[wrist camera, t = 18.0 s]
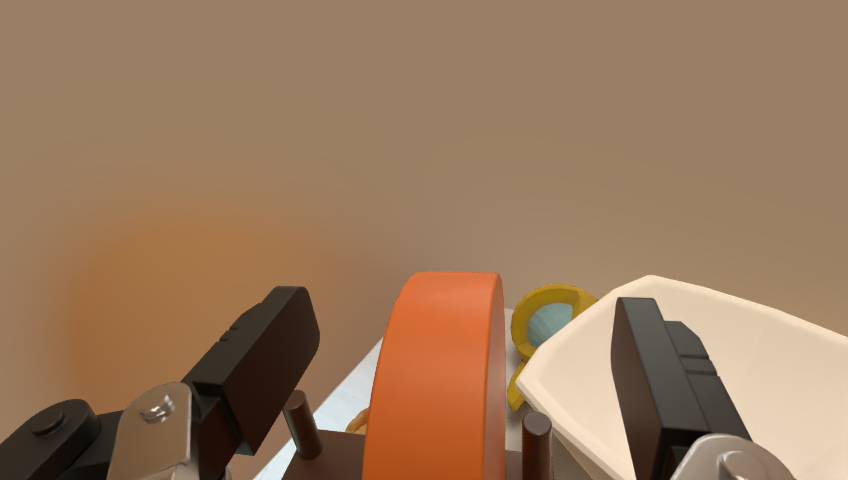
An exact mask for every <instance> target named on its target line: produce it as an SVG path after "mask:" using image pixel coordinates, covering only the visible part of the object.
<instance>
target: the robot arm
mask: <svg viewBox="0 0 848 480" xmlns="http://www.w3.org/2000/svg"><path fill="white" fill-rule="evenodd" d="M319 341H320V332H319V328H318V324H317V320H316V317H315V313H314V310H313V306H312V303H311V300H310V296H309V293H308V291H307V289H306V288H304V287H295V286H277V287H275V288H274V289H273V290H272V291H271V292H270V293H269V294H268V295H267V297H266V298H265V299H264V300H263V301H262V303H258V304H257V305H255V306H254V307H252V308H251V309H249V310H248V311H246V312H245V313H243V314H242V315H241V316H240V317H239V318H238V319H237V320H236V321H235V322H234V323H233V324H232V326H231V327H230V329H229V331H226V332H225V333H224V334H223V335H222V336H221V338H220V340H219V342H216V343H215V344H214V345H213V346H212V347H211V349H210V350H209V351H208V352H207V353H206V354H205V355H204V356H203V357H202V358H201V360H200V361H199V362H198V363H197V364H196V365H195V366H194V367H193V368H192V369H191V371H190V372H189V373H188V374H187V375H186V376H185V377H184V378H183V379H182V380H181V381H180V382H171V383H166V384H163V385H159V386H157V387H154V388H152V389H150V390H148V391H147V392H145V393H143V394H142V395H140V396H139V397H137V398H136V399H135V400H134V401H133V402H132V403H131V404H130V405H129V406H128V407H127V408H126V410H122V411H116V412H111V413H106V414H100V415H95V413H94V412H93V410H92V409H91V407H90V406H89V404H88V403H87V402H86V401H84V400H81V399H72V400H66V401H63V402H60V403H57V404H54V405H52V406H50V407H48V408H46V409H44V410H42V411H40V412H39V413H37V414H36V415H34V416H33V417H31V418H30V419H29V420H27V421H26V422H25V423H24V424H23V425H22V426H20V427H19V428H18V429H17V430H16V431H15V432H14V433H12V434H11V435H10V436H9V437H8V438H7V439H6V440H4V441H3V442H2V443H1V444H0V480H232V472H231V468H230V466H229V464H228V463H229V461H230V460H231V458H232V457H233V455H234V454H243V455H251V456H254V455H255V454H256V452H257V450H258V448H259V447H260V445H261V444H262V442H263V440H264V438H265V437H266V435H267V434H268V432H269V430H270V429H271V427H272V425H273V424H274V422H275V420H276V419H277V417H278V415H279V414H280V412H281V410H282V409H283V407H284V405H285V404H286V402H287V400H288V399H289V397H290V395H291V394H292V392H293V390H294V389H295V387H296V385H297V384H298V382H299V380H300V379H301V377H302V375H303V374H304V372H305V370H306V369H307V367H308V365H309V364H310V362H311V360H312V359H313V357H314V355H315V354H316V352H317V350H318V346H319ZM610 360H611V370H612V376H613V380H614V384H615V389H616V393H617V398H618V402H619V406H620V411H621V415H622V419H623V424H624V428H625V433H626V437H627V441H628V446H629V450H630V454H631V459H632V463H633V467H634V472H635V476H636V480H796V479H795V478H794V476H793V475H792V474H791V472H790V471H789V469H788V468H787V467H786V466H785V465H784V464H783V463H782V462H781V461H780V460H779V459H778V458H777V457H776V456H774V455H773V454H772V453H770V452H769V451H768V450H766V449H765V448H763V447H761V446H759V445H758V444H756V443H754V442H753V440H752V438H751V436H750V435H749V433H748V431H747V429H746V427H745V425H744V423H743V421H742V419H741V417H740V415H739V413H738V411H737V409H736V407H735V405H734V403H733V401H732V400H731V398H730V396H729V394H728V392H727V390H726V388H725V386H724V384H723V382H722V380H721V378H720V376H718V375H717V370H716V368H715V367H714V365H713V363H712V361H711V360H709V355H708V353H707V351H706V349H705V347H704V345H703V343H702V341H701V339H700V337H698V336H697V335H696V334H695V333H694V332H693V331H692V330H690V329H689V328H688V327H687V326H686V325H685V324H684V323H682V322H681V321H664V319H663V316H662V314H661V312H660V309H659V307H658V305H657V302H656V300H655V299H654V298H641V297H618V298H617V301H616V307H615V315H614V323H613V332H612V340H611V350H610Z"/></svg>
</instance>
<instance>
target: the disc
mask: <svg viewBox="0 0 848 480" xmlns="http://www.w3.org/2000/svg"><path fill="white" fill-rule="evenodd" d="M505 419H506V352H505V315H504V298H503V288H502V281H501V278H500V275H499V274H498V273H484V272H482V273H481V272H426V271H424V272H423V271H422V272H421V271H420V272H418V273H416V274H414V275H413V276H412V277H410V278H409V279H408V281H407V282H406V284H405V285H404V287H403V288H402V290H401V292H400V294H399V296H398V298H397V300H396V302H395V305H394V308H393V310H392V313H391V316H390V318H389V322H388V325H387V328H386V332H385V335H384V338H383V342H382V346H381V350H380V354H379V358H378V362H377V367H376V372H375V377H374V382H373V387H372V393H371V399H370V405H369V412H368V418H367V427H366V436H365V444H364V455H363V468H362V480H505Z"/></svg>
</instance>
